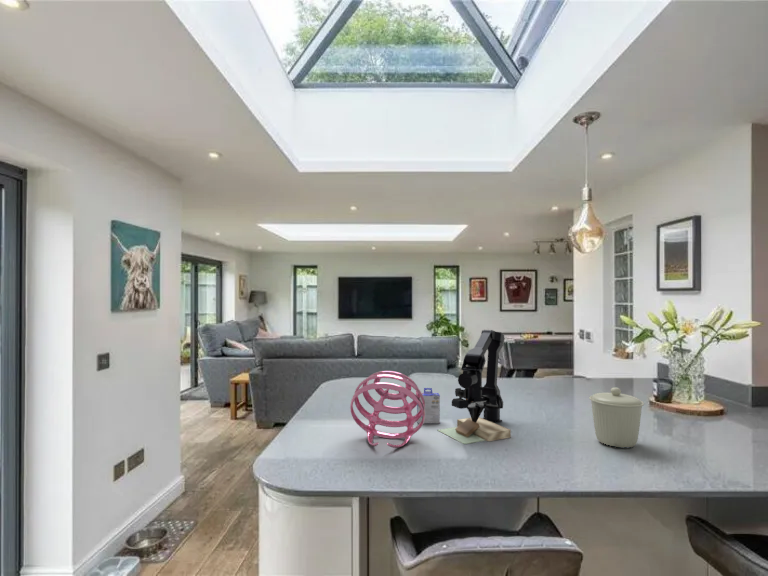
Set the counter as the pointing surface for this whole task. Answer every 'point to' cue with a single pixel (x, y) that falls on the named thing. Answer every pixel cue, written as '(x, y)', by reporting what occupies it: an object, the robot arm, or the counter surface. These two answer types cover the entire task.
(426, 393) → the ink cartridge box
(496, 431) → the board
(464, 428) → the walnut coaster
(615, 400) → the canister
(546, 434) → the counter surface
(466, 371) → the robot arm
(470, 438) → the sage mat
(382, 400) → the spiral basket
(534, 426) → the counter surface
